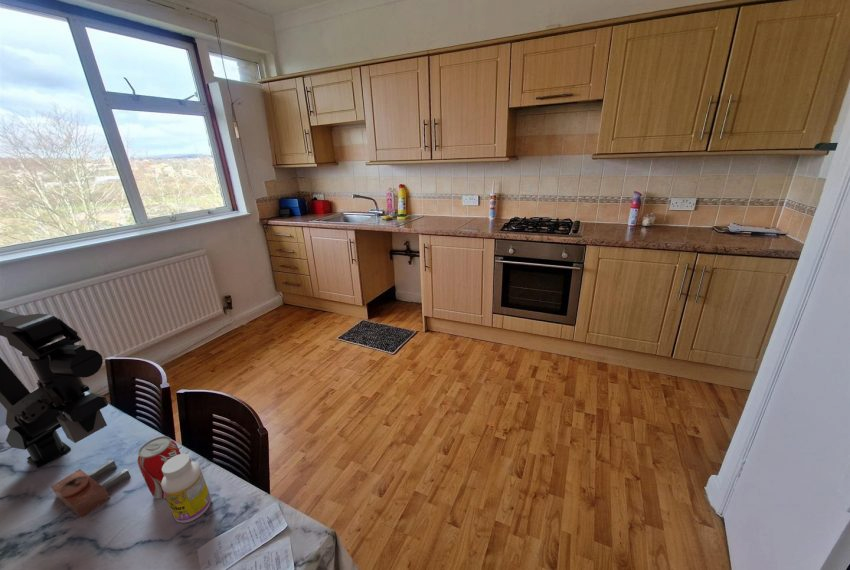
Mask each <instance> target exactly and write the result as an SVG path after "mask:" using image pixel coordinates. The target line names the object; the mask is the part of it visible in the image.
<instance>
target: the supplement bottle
mask: <svg viewBox="0 0 850 570" xmlns="http://www.w3.org/2000/svg"><path fill="white" fill-rule="evenodd" d="M162 472H163V475H164V477H163V479H162V482H161V487H162V490H163V492H164V494H165V497H166V498H165V499H166V501H167V503H168V505H169V508H170V510H171V511H170V512H171V513H172V515H173V518H174V520H175V521H176V522H178V523H182V524H183V523H184V524H185V523H190V522H192V521H194V520H196V519H198V518H200V517H201V516H202V515H204V513H206V511H207V510H208V509H209V507H210V505H211V502H212V497H211V493H210V491H209V488H208V485H207V483H206V480H205V478H204V474H203V472H202V469H201V467H200V465H199V463H197V462H195V461H193V460H192V459H191V457H190V455H189V454H187V453H181V454H179V455H176V456H174V457H172V458H170V459H169V460H168V461H167V462H166V463H165V464H164V465H163V467H162Z"/></svg>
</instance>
